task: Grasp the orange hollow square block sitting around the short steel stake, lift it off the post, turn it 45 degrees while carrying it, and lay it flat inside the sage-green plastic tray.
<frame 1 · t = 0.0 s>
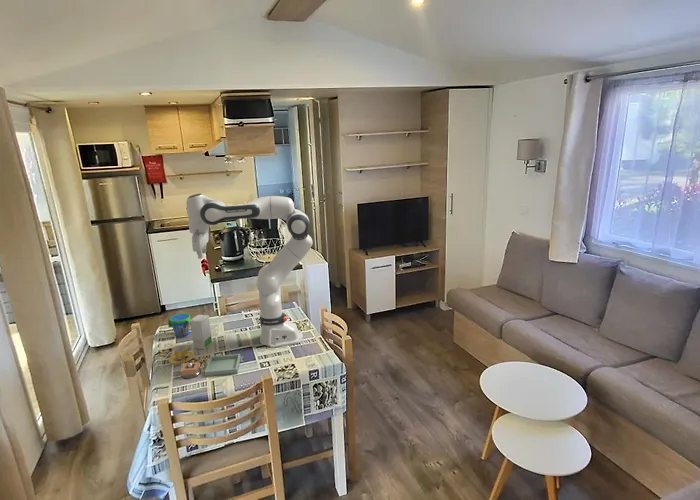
hand: (202, 255, 208), 48 cm above the table, fingers open, 8 cm apart
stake: (191, 373, 195), on the table
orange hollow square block: (190, 371, 194), point 1 cm above the table, touching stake
grey tall box: (202, 346, 221), on the table
tray: (223, 367, 199), on the table
snack cup: (182, 334, 234), on the table
cup: (181, 358, 209), on the table
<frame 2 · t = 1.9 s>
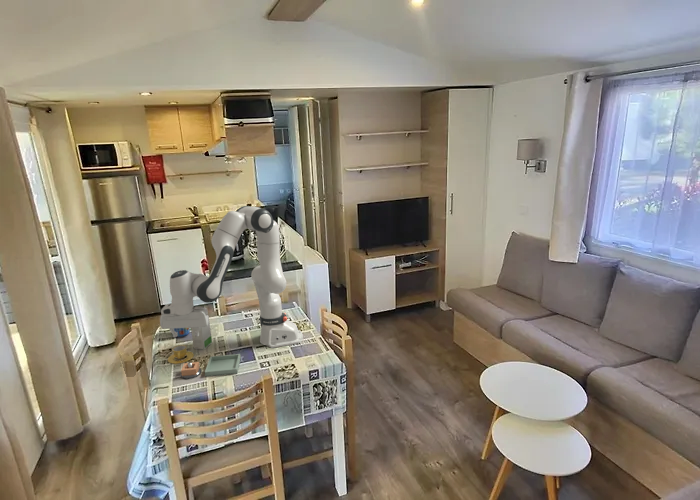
hand: (186, 336, 191), 18 cm above the table, fingers open, 8 cm apart
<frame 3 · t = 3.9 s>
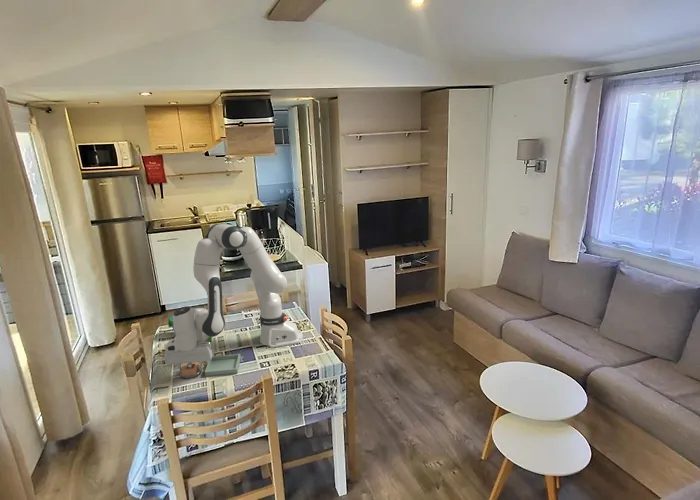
hand: (190, 370, 194), 2 cm above the table, fingers closed on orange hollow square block, 6 cm apart
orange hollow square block: (190, 371, 194), point 1 cm above the table, touching gripper, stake
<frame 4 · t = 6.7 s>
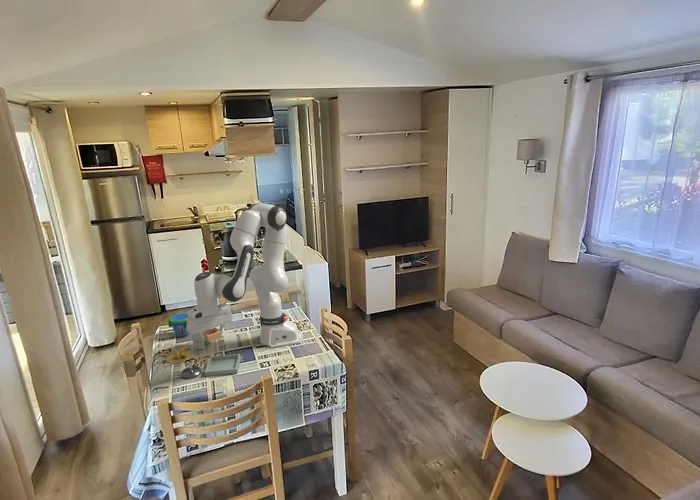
hand: (212, 336, 195), 16 cm above the table, fingers closed on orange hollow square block, 6 cm apart
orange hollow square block: (212, 337, 195), point 16 cm above the table, touching gripper
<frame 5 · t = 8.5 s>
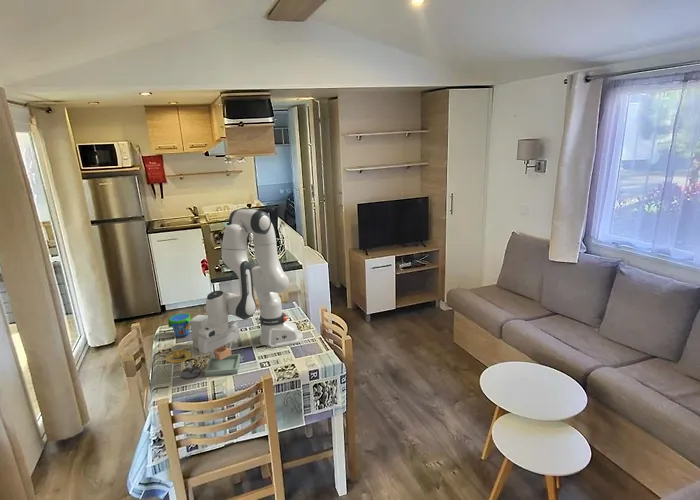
hand: (221, 354, 197), 7 cm above the table, fingers closed on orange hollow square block, 6 cm apart
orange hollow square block: (221, 355, 197), point 6 cm above the table, touching gripper
when the fingers open (3 cm above the table, at t = 9.7 s): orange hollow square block drops 2 cm, resting on tray.
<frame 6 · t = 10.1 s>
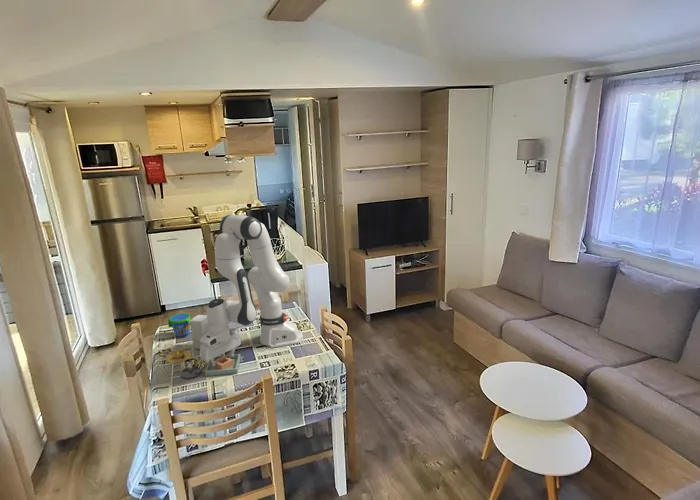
hand: (223, 361, 198), 3 cm above the table, fingers open, 8 cm apart
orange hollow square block: (223, 366, 199), point 1 cm above the table, touching tray
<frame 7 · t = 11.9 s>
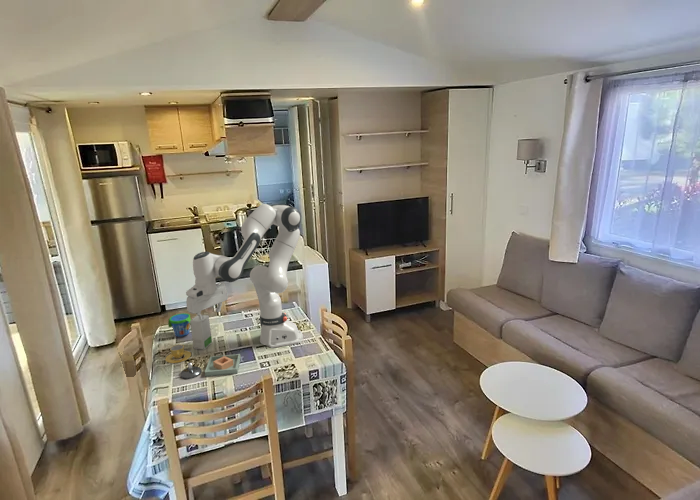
hand: (210, 315, 199), 24 cm above the table, fingers open, 8 cm apart
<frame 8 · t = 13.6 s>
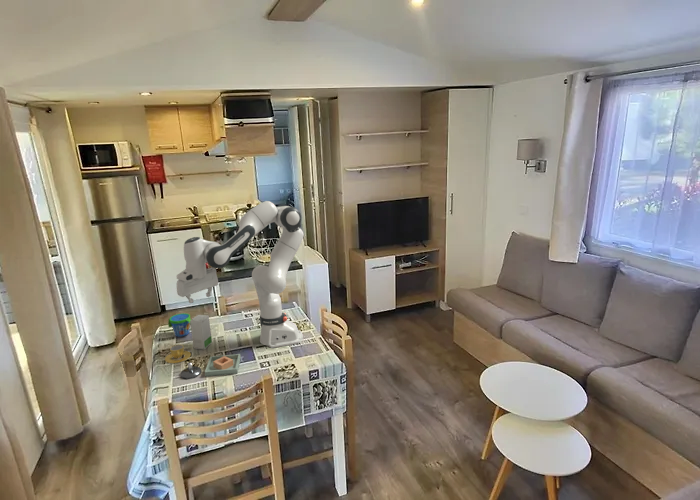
hand: (200, 299, 204), 29 cm above the table, fingers open, 8 cm apart
at the end: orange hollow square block inside the target area on the tray (0.0 cm from its centre), point 0.6 cm above the tray's base; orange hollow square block tilted 0°; the gripper is holding nothing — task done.
